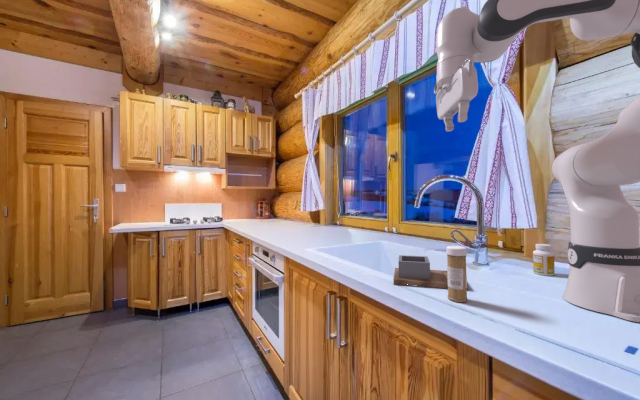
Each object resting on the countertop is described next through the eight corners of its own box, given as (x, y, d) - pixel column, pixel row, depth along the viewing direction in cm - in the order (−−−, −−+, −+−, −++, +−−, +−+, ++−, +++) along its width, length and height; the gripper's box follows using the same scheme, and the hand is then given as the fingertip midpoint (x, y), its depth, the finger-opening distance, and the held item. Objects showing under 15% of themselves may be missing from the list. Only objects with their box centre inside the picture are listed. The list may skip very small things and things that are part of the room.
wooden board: (458, 275, 88) (458, 270, 88) (467, 290, 74) (467, 283, 74) (395, 271, 94) (395, 266, 94) (393, 284, 80) (393, 278, 80)
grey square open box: (427, 271, 88) (427, 256, 88) (430, 279, 80) (429, 263, 80) (399, 269, 91) (399, 255, 91) (398, 277, 82) (398, 261, 82)
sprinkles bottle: (471, 300, 67) (470, 247, 67) (461, 304, 65) (460, 249, 65) (453, 294, 71) (452, 244, 71) (443, 298, 69) (442, 246, 68)
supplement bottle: (552, 273, 89) (552, 243, 89) (556, 277, 84) (555, 246, 84) (532, 270, 92) (531, 242, 92) (534, 274, 87) (534, 245, 87)
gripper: (485, 52, 61) (486, 113, 61) (454, 89, 81) (454, 134, 81) (456, 55, 62) (457, 115, 62) (432, 90, 82) (433, 135, 82)
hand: (455, 126), depth 72 cm, fingers open, 8 cm apart
